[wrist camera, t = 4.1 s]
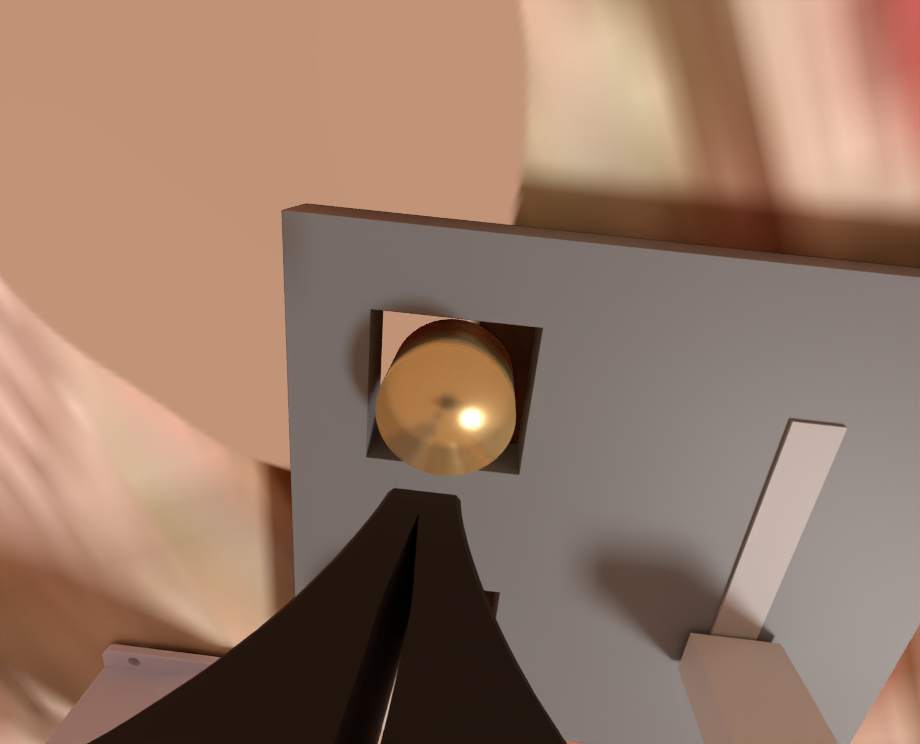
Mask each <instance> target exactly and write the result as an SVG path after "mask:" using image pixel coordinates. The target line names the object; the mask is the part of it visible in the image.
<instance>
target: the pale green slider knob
mask: <svg viewBox="0 0 920 744" xmlns="http://www.w3.org/2000/svg"><path fill="white" fill-rule="evenodd" d="M678 670H679V673H680V676H681V679H682V682H683V684H684V687H685V690H686V693H687V696H688V699H689V701H690V704H691V707H692V710H693V713H694V716H695V719H696V721H697V724H698V727H699V730H700V733H701V736H702V739H703V741H704V744H838V742H837V740H836V738H835V737H834V735H833V733H832V732H831V730H830V728H829V726H828V725H827V723H826V721H825V719H824V718H823V716H822V714H821V712H820V711H819V709H818V707H817V706H816V704H815V702H814V700H813V699H812V697H811V695H810V693H809V692H808V690H807V688H806V686H805V685H804V683H803V681H802V680H801V678H800V676H799V674H798V673H797V671H796V669H795V667H794V666H793V664H792V662H791V660H790V659H789V657H788V655H787V654H786V652H785V650H784V648H783V647H782V645H781V644H778V643H770V642H762V641H754V640H746V639H737V638H729V637H721V636H713V635H705V634H697V633H690V636H689V638H688V641H687V644H686V647H685V650H684V652H683V655H682V658H681V661H680V663H679V666H678Z"/></svg>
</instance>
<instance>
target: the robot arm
mask: <svg viewBox="0 0 920 744" xmlns="http://www.w3.org/2000/svg"><path fill="white" fill-rule="evenodd" d="M102 659H103V663H104V667H103V669H102V670H101V671H100V673H99V674H98V675H97V677H96V678H95V679H94V681H93V682H92V683H91V684H90V686H89V687H88V688H87V690H86V691H85V692H84V694H83V695H82V696H81V698H80V699H79V700H78V701H77V703H76V704H75V705H74V707H73V708H72V709H71V711H70V712H69V713H68V715H67V716H66V717H65V719H64V720H63V721H62V722H61V724H60V725H59V726H58V728H57V729H56V730H55V732H54V733H53V734H52V736H51V737H50V738H49V739H48V741H47V742H46V743H45V744H378V741H379V737H380V733H381V730H382V726H383V722H384V718H385V715H386V711H387V707H388V704H389V700H390V696H391V692H392V689H393V685H394V689H393V693H392V698H391V702H390V707H389V711H388V715H387V719H386V723H385V728H384V732H383V736H382V740H381V744H567V743H566V741H565V740H564V738H563V737H562V735H561V734H560V732H559V730H558V729H557V727H556V726H555V724H554V723H553V721H552V720H551V718H550V716H549V715H548V713H547V712H546V710H545V709H544V707H543V706H542V704H541V702H540V701H539V699H538V698H537V696H536V694H535V693H534V691H533V689H532V687H531V686H530V684H529V682H528V680H527V679H526V677H525V675H524V673H523V671H522V670H521V668H520V666H519V664H518V662H517V660H516V658H515V657H514V655H513V653H512V651H511V649H510V647H509V645H508V643H507V641H506V639H505V637H504V635H503V633H502V631H501V629H500V626H499V624H498V622H497V620H496V618H495V615H494V613H493V611H492V608H491V606H490V604H489V601H488V599H487V596H486V594H485V591H484V589H483V586H482V584H481V581H480V578H479V575H478V572H477V569H476V566H475V564H474V561H473V558H472V555H471V551H470V548H469V545H468V541H467V537H466V533H465V529H464V524H463V519H462V511H461V500H460V499H459V498H458V497H457V495H452V494H443V493H434V492H426V491H417V490H409V489H400V488H393V489H392V490H390V491H389V492H388V493H387V494H386V496H385V497H384V499H383V500H382V502H381V503H380V505H379V506H378V507H377V509H376V510H375V511H374V512H373V514H372V515H371V516H370V518H369V519H368V520H367V521H366V523H365V524H364V525H363V526H362V527H361V529H360V530H359V531H358V532H357V533H356V534H355V536H354V537H353V538H352V539H351V540H350V541H349V542H348V543H347V545H346V546H345V547H344V548H343V549H342V550H341V551H340V552H339V554H338V555H337V556H336V557H335V558H334V559H333V560H332V561H331V562H330V563H329V564H328V565H327V566H326V567H325V568H324V569H323V570H322V571H321V572H320V573H319V574H318V575H317V576H316V577H315V578H314V579H313V580H312V581H311V582H310V583H309V584H308V585H307V586H306V587H305V588H304V589H303V590H302V591H301V592H300V593H299V594H298V595H296V596H295V597H294V598H293V599H292V600H291V601H290V602H289V603H288V604H287V605H285V606H284V607H283V608H282V609H281V610H280V611H279V612H277V613H276V614H275V615H274V616H273V617H271V618H270V619H269V620H268V621H267V622H266V623H264V624H263V625H262V626H261V627H260V628H258V629H257V630H256V631H255V632H253V633H252V634H251V635H249V636H248V637H247V638H246V639H244V640H243V641H242V642H240V643H239V644H238V645H236V646H235V647H234V648H233V649H231V650H230V651H229V652H227V653H226V654H225V655H223V656H222V657H215V656H207V655H199V654H191V653H183V652H175V651H167V650H159V649H151V648H143V647H135V646H127V645H119V644H111V645H109V646H108V647H107V648H106V649H105V651H104V652H103V653H102ZM397 670H398V671H397ZM396 674H397V675H396ZM395 678H396V680H395ZM394 681H395V684H394Z"/></svg>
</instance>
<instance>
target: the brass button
mask: <svg viewBox="0 0 920 744" xmlns="http://www.w3.org/2000/svg"><path fill="white" fill-rule="evenodd" d="M375 414H376V421H377V426H378V429H379V432H380V434H381V436H382V438H383V440H384V441H385V443H386V444H387V446H388V447H389V448H390V450H391V451H392V452H393V453H394V454H395V455H396V456H397V457H398V458H399V459H401V460H402V461H404V462H405V463H406V464H408V465H410V466H412V467H413V468H415V469H418V470H420V471H423V472H426V473H430V474H435V475H442V476H456V475H463V474H467V473H471V472H474V471H477V470H479V469H481V468H483V467H485V466H487V465H488V464H490V463H491V462H493V461H494V460H495V459H496V458H497V457H498V456H499V455H500V454H501V453H502V452H503V451H504V450H505V448H506V447H507V445H508V443H509V442H510V440H511V437H512V435H513V432H514V428H515V424H516V407H515V393H514V379H513V368H512V363H511V360H510V357H509V355H508V353H507V351H506V349H505V347H504V346H503V345H502V343H501V342H500V341H499V340H498V339H497V338H496V337H495V336H494V335H493V334H492V333H490V332H489V331H488V330H486V329H485V328H483V327H481V326H479V325H477V324H474V323H471V322H468V321H463V320H456V319H455V320H454V319H447V320H439V321H434V322H431V323H429V324H426V325H424V326H422V327H420V328H419V329H417V330H416V331H414V332H413V333H412V334H411V335H410V336H408V337H407V338H406V340H405V341H404V342H403V343H402V345H401V347H400V348H399V350H398V352H397V354H396V356H395V358H394V360H393V362H392V364H391V366H390V368H389V370H388V372H387V374H386V376H385V378H384V380H383V382H382V385H381V387H380V389H379V391H378V395H377V398H376V406H375Z"/></svg>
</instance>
